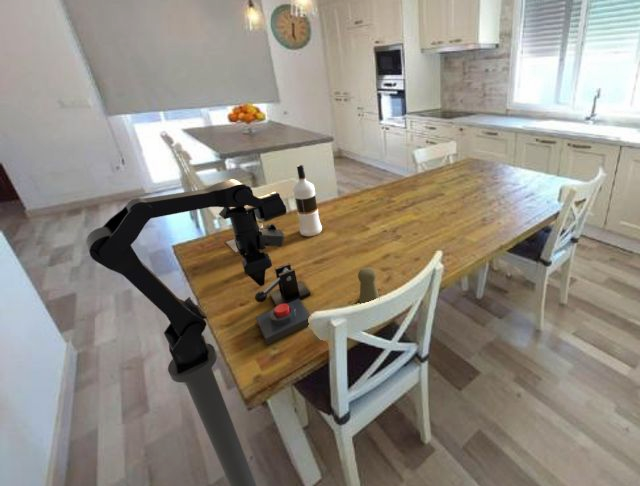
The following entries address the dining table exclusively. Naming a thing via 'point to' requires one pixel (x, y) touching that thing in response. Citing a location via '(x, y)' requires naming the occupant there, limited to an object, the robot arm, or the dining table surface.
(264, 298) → the switch lever
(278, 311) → the switch button
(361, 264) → the dining table surface
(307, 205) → the vodka
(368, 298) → the grey brown pawn
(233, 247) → the platform
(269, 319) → the switch block
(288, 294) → the switch bracket
